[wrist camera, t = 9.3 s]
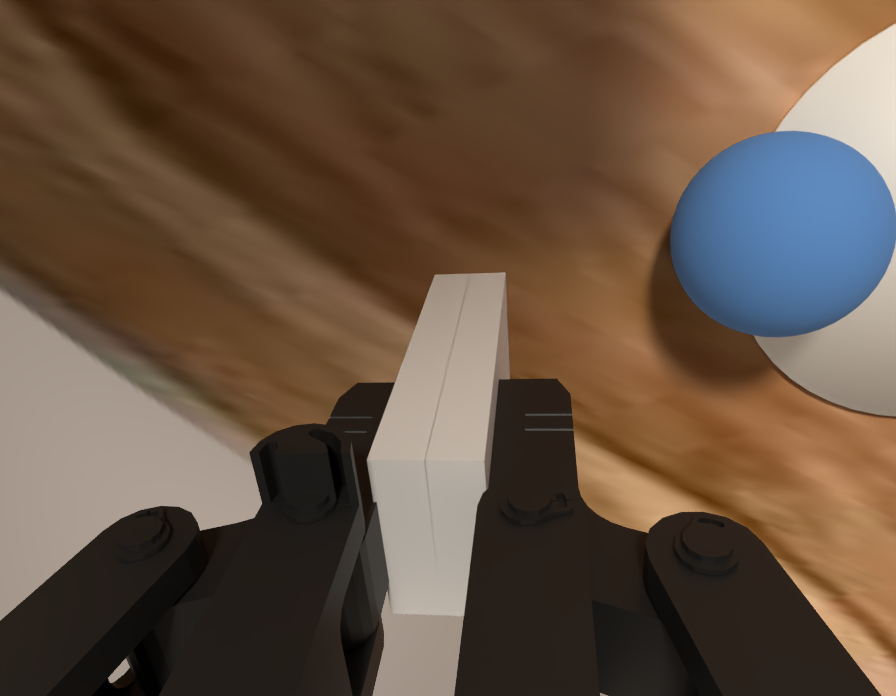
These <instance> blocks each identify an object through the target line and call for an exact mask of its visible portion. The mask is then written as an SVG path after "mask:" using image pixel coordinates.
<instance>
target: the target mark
mask: <svg viewBox="0 0 896 696" xmlns="http://www.w3.org/2000/svg"><path fill="white" fill-rule="evenodd" d="M778 131H803V132H811V133H816V134H820V135H825V136H828V137H831V138H834V139H836V140H839V141H841V142H843V143H845V144H847V145H849V146H851V147H852V148H854V149H855V150H857V151H858V152H859V153H861V154H862V155H863V156H865V157H866V158H867V159H868V160H869V161H870V162H871V163H872V164H873V165H874V166H875V168H876V169H877V170H878V172H879V173H880V175H881V176H882V177H883V179H884V181H885V183H886V185H887V187H888V189H889V191H890V193H891V196H892V199H893V202H894V205H895V211H896V23H894V24H892V25H891V26H889V27H887V28H886V29H884V30H883V31H881V32H879V33H878V34H876V35H874V36H873V37H871V38H870V39H868V40H866V41H865V42H863V43H861V44H860V45H859V46H857V47H856V48H855V49H853V50H852V51H851V52H850V53H848V54H847V55H846V56H844V57H843V58H842V59H840V60H839V61H838V62H837V63H835V64H834V65H833V66H831V67H830V68H829V69H828V70H827V71H826V72H825V73H824V74H823V75H822V76H821V77H820V78H819V79H818V80H817V81H816V82H815V83H814V84H812V85H811V86H810V87H809V88H808V89H807V90H806V91H805V92H804V94H803V95H802V96H801V97H800V98H799V99H798V101H797V102H796V103H795V104H794V105H793V107H792V108H791V109H790V110H789V111H788V112H787V114H786V115H785V116H784V117H783V119H782V120H781V122H780V123H779V125H778V126H777V128H776V129H775V131H774V132H778ZM753 336H754V338H755V339H756V341H757V343H758V344H759V346H760V347H761V348H762V349H763V351H764V352H765V353H766V354H767V356H768V357H769V358H770V360H771V361H772V362H773V363H774V364H775V365H776V366H777V367H778V368H779V369H780V370H781V371H783V372H784V373H785V374H786V375H787V376H788V377H789V378H790V379H792V380H793V381H795V382H796V383H798V384H799V385H801V386H802V387H804V388H805V389H806V390H808V391H810V392H812V393H814V394H816V395H818V396H820V397H822V398H824V399H826V400H828V401H830V402H833V403H835V404H838V405H841V406H844V407H847V408H850V409H853V410H858V411H862V412H867V413H872V414H877V415H885V416H896V244H895V249H894V252H893V255H892V259H891V262H890V264H889V266H888V268H887V271H886V273H885V275H884V276H883V278H882V279H881V281H880V283H879V284H878V286H877V287H876V288H875V290H874V291H873V292H872V293H871V294H870V296H869V297H868V298H867V299H866V300H865V301H864V302H863V303H862V304H861V305H860V306H859V307H857V308H856V309H855V310H853V311H852V312H851V313H849V314H848V315H847V316H845V317H844V318H842V319H840V320H838V321H837V322H835V323H833V324H831V325H829V326H827V327H824V328H822V329H820V330H816V331H813V332H810V333H807V334H802V335H797V336H791V337H761V336H755V335H753Z"/></svg>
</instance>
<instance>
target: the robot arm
mask: <svg viewBox="0 0 896 696" xmlns="http://www.w3.org/2000/svg"><path fill="white" fill-rule="evenodd" d="M249 453H250V457H251V461H252V465H253V468H254V472H255V476H256V480H257V484H258V488H259V492H260V496H261V500H262V505H261V507H260V509H259V511H258V513H257V514H256V516H255V518H253V519H250V520H246V521H243V522H239V523H235V524H230V525H225V526H221V527H216V528H211V529H207V530H202V531H200V529H199V526H198V523H197V521H196V519H195V518H194V516H193V515H192V513H191V512H189V511H187V510H184V509H182V508H180V507H170V506H169V507H168V506H159V507H154V508H149V509H144V510H140V511H138V512H135V513H133V514H131V515H129V516H126V517H124V518H121V519H120V520H119V521H117V522H115V523H114V524H112V525H111V526H110V527H109V528H107V529H105V530H104V531H103V532H101V533H100V534H99V535H98V536H97V537H96V538H95V539H93V540H92V541H91V542H90V543H89V544H88V545H87V546H85V547H84V548H83V549H82V550H81V551H80V552H79V553H77V554H76V555H75V556H74V557H73V558H72V559H71V560H69V561H68V562H67V563H66V564H65V565H64V566H62V567H61V568H60V569H59V570H58V571H57V572H56V573H54V574H53V575H52V576H51V577H50V578H49V579H48V580H46V581H45V582H44V583H43V584H42V585H41V586H40V587H39V588H38V589H36V590H35V591H34V592H33V593H32V594H31V595H29V596H28V597H27V598H26V599H25V600H24V601H23V602H21V603H20V604H19V605H18V606H17V607H16V608H15V609H13V610H12V611H11V612H10V613H9V614H8V615H6V616H5V617H4V618H3V619H2V620H1V621H0V696H372V694H373V690H374V686H375V682H376V677H377V673H378V669H379V664H380V660H381V656H382V651H383V647H384V631H383V625H382V619H381V612H382V608H383V604H384V600H385V595H386V592H387V590H388V596H389V602H390V608H391V613H392V614H415V615H443V616H464V620H463V628H462V636H461V645H460V654H459V661H458V670H457V678H456V687H455V695H454V696H600V693H603V694H606V695H608V696H881V695H880V693H879V692H878V691H877V689H876V688H875V687H874V686H873V684H872V683H871V682H870V680H869V679H868V678H867V676H866V675H865V674H864V673H863V671H862V670H861V669H860V667H859V666H858V665H857V664H856V662H855V661H854V660H853V658H852V657H851V656H850V654H849V653H848V652H847V651H846V649H845V648H844V647H843V645H842V644H841V643H840V642H839V640H838V639H837V638H836V636H835V635H834V634H833V632H832V631H831V630H830V629H829V627H828V626H827V625H826V623H825V622H824V621H823V619H822V618H821V617H820V616H819V614H818V613H817V612H816V610H815V609H814V608H813V607H812V605H811V604H810V603H809V601H808V600H807V599H806V597H805V596H804V595H803V594H802V592H801V591H800V590H799V588H798V587H797V586H796V584H795V583H794V582H793V581H792V579H791V578H790V577H789V575H788V574H787V573H786V572H785V570H784V569H783V568H782V566H781V565H780V564H779V562H778V561H777V560H776V559H775V557H774V556H773V555H772V553H771V552H770V551H769V550H768V548H767V547H766V546H765V544H764V543H763V542H762V541H761V540H760V539H759V538H758V537H757V536H756V535H754V534H753V533H752V532H751V531H750V530H749V529H748V528H747V527H745V526H743V525H741V524H739V523H737V522H735V521H733V520H731V519H729V518H727V517H723V516H719V515H714V514H710V513H706V512H680V513H677V514H674V515H671V516H667V517H664V518H662V519H661V520H660V521H658V522H657V523H656V524H655V525H654V526H652V527H651V528H650V530H649V533H645V532H642V531H638V530H634V529H630V528H626V527H623V526H620V525H617V524H614V523H611V522H610V521H608V520H606V519H604V518H602V517H600V516H599V515H597V514H596V513H595V512H594V511H593V510H591V509H590V508H589V507H588V506H587V505H586V503H585V502H584V500H583V499H582V497H581V495H580V491H579V488H578V478H577V466H576V455H575V443H574V432H573V420H572V408H571V397H570V393H569V392H568V391H567V390H566V389H565V388H564V386H563V385H562V384H561V383H560V382H559V381H558V380H557V379H510V368H509V344H508V320H507V297H506V273H505V272H504V273H473V274H442V275H435V276H434V278H433V281H432V284H431V287H430V289H429V292H428V295H427V297H426V300H425V303H424V306H423V308H422V311H421V314H420V316H419V319H418V322H417V325H416V327H415V330H414V333H413V335H412V338H411V341H410V344H409V346H408V349H407V352H406V355H405V357H404V360H403V363H402V365H401V368H400V371H399V374H398V376H397V379H396V382H395V383H357V384H356V385H355V386H353V387H352V388H351V389H350V390H348V391H347V392H346V393H345V394H343V395H342V396H341V397H340V398H339V399H338V401H337V403H336V405H335V407H334V409H333V411H332V413H331V419H328V421H327V423H326V425H323V424H315V423H314V424H305V425H296V426H292V427H289V428H286V429H283V430H280V431H277V432H275V433H273V434H271V435H270V436H268V437H266V438H264V439H263V440H261V441H260V442H259V443H258V444H257V445H256V446H255V447H254V448H253V449H252V450H251V451H250V452H249ZM125 658H126V659H127V661H128V663H129V666H130V668H129V670H128V671H127V672H126V673H125V674H124V675H123V676H121V677H120V678H119V679H118V680H117V681H115V682H114V683H110V682H109V680H108V677H109V676H110V675H111V674H112V673H113V672H114V670H115V669H116V668H117V667H118V666H119V665H120V664H121V662H122V661H123V660H124V659H125Z"/></svg>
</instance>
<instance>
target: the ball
mask: <svg viewBox="0 0 896 696" xmlns="http://www.w3.org/2000/svg"><path fill="white" fill-rule="evenodd" d="M895 244H896V211H895V205H894V202H893V199H892V196H891V193H890V191H889V189H888V187H887V185H886V183H885V181H884V179H883V177H882V176H881V175H880V173H879V172H878V170H877V169H876V168H875V166H874V165H873V164H872V163H871V162H870V161H869V160H868V159H867V158H866V157H865V156H863V155H862V154H861V153H859V152H858V151H857V150H855V149H854V148H852V147H851V146H849V145H847V144H845V143H843V142H841V141H839V140H836V139H834V138H831V137H828V136H825V135H820V134H816V133H811V132H803V131H778V132H772V133H765V134H761V135H758V136H754V137H751V138H748V139H746V140H743V141H741V142H739V143H736V144H734V145H732V146H731V147H729V148H727V149H725V150H724V151H722V152H721V153H719V154H718V155H717V156H715V157H714V158H713V159H711V160H710V161H709V162H708V163H707V164H706V165H705V166H704V167H702V168H701V169H700V170H699V172H698V173H697V174H696V175H695V176H694V178H693V179H692V180H691V181H690V183H689V184H688V186H687V187H686V189H685V191H684V192H683V194H682V196H681V198H680V200H679V202H678V204H677V207H676V210H675V213H674V216H673V221H672V226H671V235H670V248H671V257H672V262H673V266H674V269H675V272H676V274H677V277H678V280H679V281H680V283H681V285H682V287H683V289H684V291H685V292H686V293H687V295H688V296H689V298H690V299H691V300H692V302H693V303H694V304H695V305H696V306H697V307H698V308H699V309H700V310H701V311H703V312H704V313H705V314H706V315H708V316H709V317H710V318H712V319H713V320H715V321H717V322H718V323H720V324H722V325H724V326H726V327H728V328H731V329H733V330H736V331H739V332H742V333H746V334H749V335H755V336H761V337H791V336H797V335H802V334H807V333H810V332H813V331H816V330H820V329H822V328H824V327H827V326H829V325H831V324H833V323H835V322H837V321H838V320H840V319H842V318H844V317H845V316H847V315H848V314H849V313H851V312H852V311H853V310H855V309H856V308H857V307H859V306H860V305H861V304H862V303H863V302H864V301H865V300H866V299H867V298H868V297H869V296H870V294H871V293H872V292H873V291H874V290H875V288H876V287H877V286H878V284H879V283H880V281H881V279H882V278H883V276H884V275H885V273H886V271H887V268H888V266H889V264H890V262H891V259H892V255H893V252H894V249H895Z"/></svg>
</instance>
